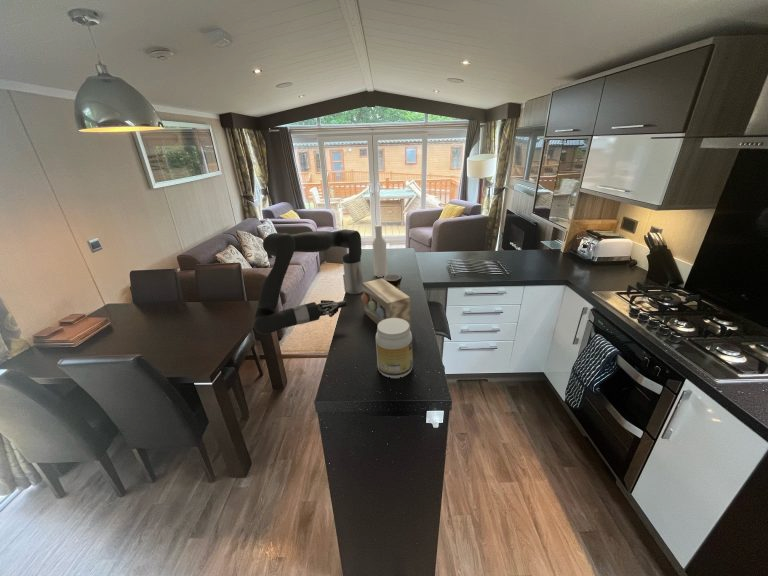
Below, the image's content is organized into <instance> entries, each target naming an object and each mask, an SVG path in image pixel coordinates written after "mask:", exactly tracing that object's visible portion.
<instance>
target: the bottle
mask: <svg viewBox="0 0 768 576" xmlns="http://www.w3.org/2000/svg"><path fill="white" fill-rule="evenodd" d="M382 228H383V227H382V225H381V224H376V225H374V229H375V233H374V234H375V237H374V239H373V241H372V257H373V258H372V259H373V273H374V276H375V277H376V276H377V277H376V278H384V277H383V276H386V275H388V257H387V255H388V254H387V242H386V240H385V238H383V230H382Z"/></svg>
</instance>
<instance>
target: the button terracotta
mask: <svg viewBox="0 0 768 576" xmlns="http://www.w3.org/2000/svg"><path fill="white" fill-rule="evenodd" d="M360 299H361V303H362V304H363V305H364V304H368V303H369V297H368V295H367V294H365V295H363V294H362V295H361V298H360Z"/></svg>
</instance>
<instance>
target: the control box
mask: <svg viewBox="0 0 768 576" xmlns="http://www.w3.org/2000/svg"><path fill="white" fill-rule="evenodd" d="M362 286H363V292H362V295H365V294H367V295H368V297H369V302H370V301H373V300H374V301H375V302H376V305H377V309H378V308H381V307H382V308H383V309H384V311H385V317H384V318H381V319H379V318H378V316H377V314H376V310H375V311H371V310H370V309H369V305H368V304H363V307H364V314H365V315H367V316H368V317H369V319H370V320H372V321H373V322H374V323H375V324H376V325H377V326H378V324H379V322H381V321H382V320H385V319H388V318H400V319H403V320H405V321H407V322H408V323H409V328H410V329H411V297H410V296H409V295H407V293H404V292H403V291H402V290H401V289H400V290H399V289H397V288H396V287H394V286H393V285H391V284H390V283H388V282H387V281H386V280H384V277H380V278H376V279H373V280H370V281H364V282H363V283H362Z"/></svg>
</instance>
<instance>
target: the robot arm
mask: <svg viewBox="0 0 768 576" xmlns="http://www.w3.org/2000/svg"><path fill="white" fill-rule="evenodd" d="M360 233H361V232H360V231H358V230H355V229H346V228H345V229H340V230H335V231H327V230H314V231H313V230H312V231H306V232H299V233H294V234H290V233H283V232H275V233H274V232H272V233H270V234H268V235H267V236H265V237H264V239H263V242H262V247H263V250H264V251H265V253H267V254H268V255H269V256H272V257H275V259H274V263H273V265H272V268H271V270H270V271H269V273H268V274H267V276H266V277H265V279H264V281H263V283H262V285H261V288H260V293H259V296H258V297H259V298H258V305H257V309H256V312H255V314H254V318H253V323H252V324H253V328H254V330H255V332H256V333H258V334H260V335H268V334H271V333H274V332H277V331H280V330H282V329H285V328H289V327H294V326H298V325H304V324H308V323H311V322H315V321H319V320H320V317H323V316H328V317H330V318H332V317H333V316H334V315H336V314H337V313H338V312H339V309H343V308H346V307H347V305H348V303H347V301H345V300H342V301H341V300H340V301H334V300H330V299H329V300H328V299H327V300H325V299H324V300H323V299H322V300H320V303H318V304H317V303H316V302H315V301H313V302H309V303H308V302H307V303H305V304H300V305H297V306H295V307H291V308H290V307H289V308H287V309H283V310H281V311H279V312H275V311H276V309H277V306H278V303H279V300H280V294H281V289H282V287H283V282H284V278H286V277H285V276H286V275H287V271H288V269H289V266H290V263H291V261H292V259H293V255H294V253H296V252H297V253H298V252H299V253H319V252H320V253H321V252H325V251H328V250H330V248H334V247H338V248H345V249H348V253H346V254H344V255H343V256H342V263H343V272H344V274H343V275H342V276H343V278H342V279H343V286H344V287H343V288H344V292H345V293H347V294H348V295H358V294H361V293H363V286H362V283H364V282H363V272H362V271H363V270H362V268H363V267H362V260H361V259H362V258H361V257H362V237H361V234H360ZM347 288H348V289H347Z"/></svg>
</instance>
